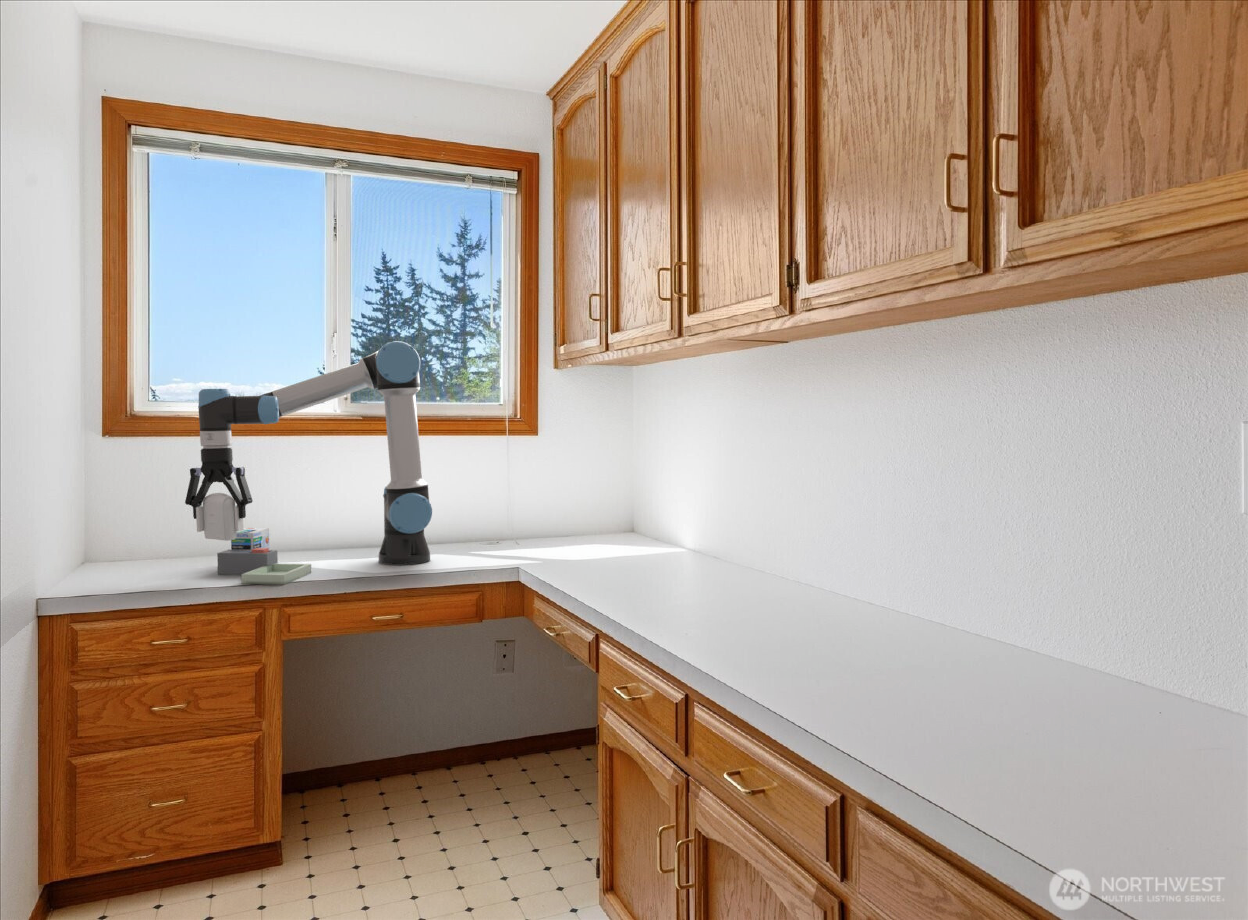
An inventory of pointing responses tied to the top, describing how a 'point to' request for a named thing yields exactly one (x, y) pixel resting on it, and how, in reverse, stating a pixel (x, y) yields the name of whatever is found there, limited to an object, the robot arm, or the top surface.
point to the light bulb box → (251, 539)
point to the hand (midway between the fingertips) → (220, 530)
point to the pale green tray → (276, 574)
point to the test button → (260, 550)
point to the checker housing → (244, 561)
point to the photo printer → (219, 517)
